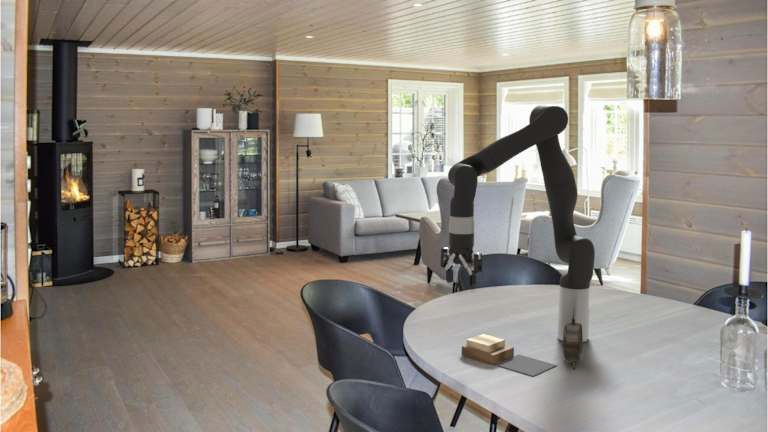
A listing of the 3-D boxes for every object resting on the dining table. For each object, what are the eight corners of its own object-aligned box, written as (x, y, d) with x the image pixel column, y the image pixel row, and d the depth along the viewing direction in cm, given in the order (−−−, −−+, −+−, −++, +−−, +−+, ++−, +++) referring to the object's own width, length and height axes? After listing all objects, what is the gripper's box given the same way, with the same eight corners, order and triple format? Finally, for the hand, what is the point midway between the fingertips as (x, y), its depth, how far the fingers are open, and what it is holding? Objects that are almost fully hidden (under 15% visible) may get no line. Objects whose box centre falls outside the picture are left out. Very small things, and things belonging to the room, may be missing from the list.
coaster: (483, 340, 212) (483, 333, 212) (504, 346, 207) (505, 339, 206) (466, 346, 207) (466, 339, 206) (488, 352, 201) (488, 345, 201)
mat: (518, 355, 208) (518, 354, 208) (557, 366, 199) (557, 365, 199) (494, 365, 199) (494, 364, 199) (533, 376, 190) (533, 375, 190)
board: (482, 348, 214) (482, 338, 214) (513, 357, 206) (513, 347, 206) (461, 355, 207) (461, 346, 207) (493, 365, 199) (493, 355, 199)
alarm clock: (579, 371, 194) (582, 314, 192) (559, 369, 196) (561, 312, 194) (582, 359, 204) (585, 305, 202) (563, 357, 206) (565, 303, 204)
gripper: (488, 232, 207) (487, 286, 209) (450, 227, 217) (450, 278, 219) (472, 235, 201) (471, 290, 203) (435, 229, 211) (434, 282, 213)
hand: (460, 284), depth 211 cm, fingers open, 8 cm apart
